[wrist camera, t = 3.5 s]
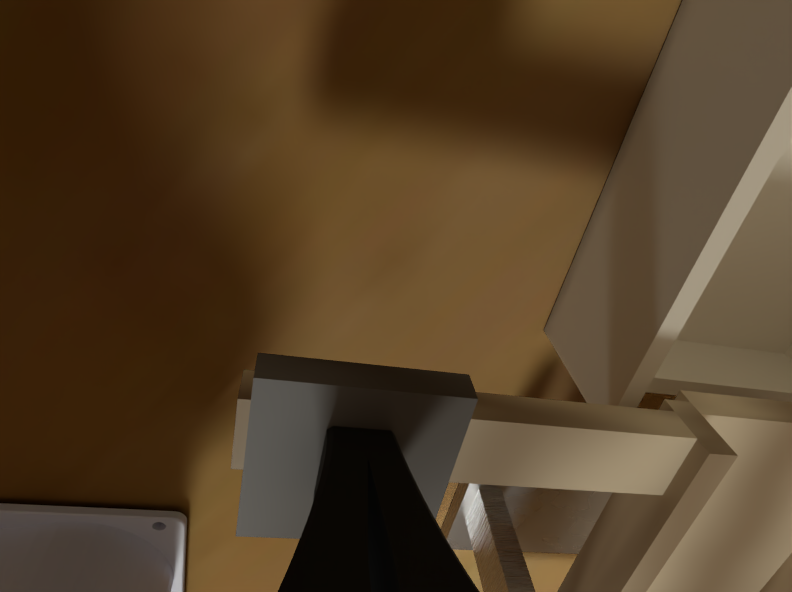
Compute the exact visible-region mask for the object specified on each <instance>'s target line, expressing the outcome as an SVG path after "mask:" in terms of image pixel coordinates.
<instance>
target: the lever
mask: <svg viewBox="0 0 792 592" xmlns="http://www.w3.org/2000/svg"><path fill="white" fill-rule="evenodd" d="M332 426H340V427H352V428H364V429H376V430H389V431H392V432H393V433H394V435H395V436H396V439H397V441H398V444H399V446H400V449H401V451H402V453H403V456H404V458H405V460H406V462H407V465H408V467H409V469H410V471H411V473H412V475H413V477H414V479H415V481H416V484H417V486H418V488H419V490H420V492H421V494H422V496H423V498H424V500H425V501H426V503H427V505H428V507H429V509H430V511H431V513H432V514H433V516H434V518H435V519H436V516H437V513H438V511H439V508H440V505H441V502H442V499H443V497H444V494H445V491H446V488H447V485H448V482H454V483H470V484H486V485H503V486H519V487H535V488H551V489H567V490H584V491H600V492H613V493H612V494H611V496H610V498H609V500H608V502H607V503H606V505H605V507H604V509H603V511H602V512H601V514H600V516H599V518H598V520H597V521H596V523H595V525H594V527H593V529H592V530H591V532H590V534H589V536H588V538H587V539H586V541H585V543H584V545H583V547H582V548H581V550H580V552H579V554H578V556H577V557H576V559H575V561H574V563H573V564H572V566H571V568H570V570H569V572H568V573H567V575H566V577H565V579H564V581H563V582H562V584H561V586H560V588H559V590H558V591H557V592H792V402H786V401H777V400H768V399H758V398H749V397H740V396H730V395H721V394H711V393H702V392H693V391H683V390H680V391H679V392H678V394H677V396H676V398H675V399H674V400H668V399H664V401H663V403H662V405H661V406H660V408H659V410H654V409H644V408H633V407H623V406H613V405H603V404H592V403H582V402H572V401H562V400H551V399H541V398H531V397H521V396H510V395H500V394H490V393H480V392H475V389H474V387H473V384H472V381H471V379H470V376H469V375H467V374H457V373H448V372H438V371H429V370H419V369H409V368H400V367H390V366H381V365H371V364H361V363H352V362H342V361H333V360H323V359H313V358H304V357H294V356H284V355H275V354H265V353H258V355H257V361H256V366H255V371H254V370H243V375H242V380H241V385H240V390H239V395H238V400H237V410H236V420H235V431H234V441H233V451H232V462H231V469H243V476H242V485H241V494H240V503H239V512H238V521H237V530H236V536H244V537H271V538H297V539H300V538H301V535H302V532H303V530H304V527H305V525H306V522H307V519H308V516H309V513H310V510H311V507H312V504H313V498H314V490H315V485H316V480H317V475H318V470H319V465H320V460H321V455H322V450H323V445H324V440H325V435H326V430H327V429H329V428H330V427H332Z"/></svg>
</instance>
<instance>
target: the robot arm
mask: <svg viewBox="0 0 792 592" xmlns="http://www.w3.org/2000/svg"><path fill="white" fill-rule="evenodd" d="M186 535H187V518H186V516H185V515H184V514H183V513H180V512H177V511H161V510H139V509H117V508H95V507H73V506H51V505H29V504H7V503H0V592H184V585H185V560H186ZM278 592H479V590H478V589H477V587H476V586H475V584H474V583H473V581H472V580H471V578H470V577H469V575H468V574H467V572H466V571H465V569H464V568H463V566H462V564H461V563H460V561H459V559H458V558H457V556H456V554H455V553H454V551H453V550H452V548H451V546H450V545H449V543H448V541H447V540H446V538H445V536H444V534H443V533H442V531H441V529H440V527H439V525H438V524H437V522H436V520H435V518H434V516H433V514H432V513H431V511H430V509H429V507H428V505H427V503H426V501H425V500H424V498H423V496H422V494H421V492H420V490H419V488H418V486H417V484H416V481H415V479H414V477H413V475H412V473H411V471H410V469H409V467H408V465H407V462H406V460H405V458H404V456H403V453H402V451H401V449H400V446H399V444H398V441H397V439H396V436H395V435H394V433H393V432H392V431H389V430H376V429H364V428H352V427H340V426H332V427H330V428H329V429H327V430H326V435H325V440H324V445H323V450H322V455H321V460H320V465H319V470H318V475H317V480H316V485H315V490H314V498H313V504H312V507H311V510H310V513H309V516H308V519H307V522H306V525H305V527H304V530H303V532H302V535H301V538H300V540H299V543H298V545H297V548H296V550H295V553H294V556H293V558H292V560H291V563H290V565H289V567H288V570H287V572H286V574H285V577H284V579H283V581H282V583H281V586H280V588H279V590H278Z"/></svg>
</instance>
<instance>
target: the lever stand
mask: <svg viewBox="0 0 792 592" xmlns="http://www.w3.org/2000/svg"><path fill="white" fill-rule="evenodd" d="M612 493H613V492H600V491H584V490H567V489H551V488H535V487H519V486H503V485H486V484H470V483H459V485H458V488H457V490H456V493H455V495H454V498H453V500H452V503H451V505H450V508H449V510H448V513H447V515H446V518H445V521H444V523H443V526H442V528H441V531H442V533H443V534H444V536H445V538H446V540H447V541H448V543H449V545H450V546H451V548H452V549H458V550H473V552H474V556H475V560H476V564H477V568H478V572H479V576H480V580H481V584H482V588H483V592H535V589H534V586H533V583H532V580H531V577H530V574H529V571H528V568H527V565H526V562H525V559H524V556H523V553H522V552H542V553H570V554H579V552H580V550H581V548H582V547H583V545H584V543H585V541H586V539H587V538H588V536H589V534H590V532H591V530H592V529H593V527H594V525H595V523H596V521H597V520H598V518H599V516H600V514H601V512H602V511H603V509H604V507H605V505H606V503H607V502H608V500H609V498H610V496H611V494H612Z"/></svg>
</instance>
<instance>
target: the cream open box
mask: <svg viewBox="0 0 792 592" xmlns="http://www.w3.org/2000/svg"><path fill="white" fill-rule="evenodd" d="M544 332H545V333H546V335H547V337H548V338H549V340H550V342H551V343H552V345H553V347H554V349H555V350H556V352H557V354H558V355H559V357H560V359H561V360H562V362H563V364H564V365H565V367H566V369H567V370H568V372H569V374H570V375H571V377H572V379H573V381H574V382H575V384H576V386H577V387H578V389H579V391H580V392H581V394H582V396H583V397H584V399H585V401H586V402H587V403H592V404H603V405H613V406H623V407H633V408H637V407H638V405H639V403H640V402H641V400H642V398H643V396H644V395H645V393H646V392H649V393H658V394H668V395H677V394H678V392H679V391H680V390H683V391H693V392H702V393H711V394H721V395H730V396H740V397H749V398H758V399H768V400H777V401H786V402H792V0H682V2H681V5H680V7H679V10H678V12H677V14H676V17H675V19H674V21H673V24H672V26H671V29H670V31H669V33H668V36H667V38H666V41H665V43H664V45H663V48H662V50H661V52H660V55H659V57H658V60H657V62H656V64H655V67H654V69H653V71H652V74H651V76H650V79H649V81H648V83H647V86H646V88H645V90H644V93H643V95H642V98H641V100H640V102H639V105H638V107H637V110H636V112H635V114H634V117H633V119H632V121H631V124H630V126H629V129H628V131H627V133H626V136H625V138H624V140H623V143H622V145H621V148H620V150H619V152H618V155H617V157H616V160H615V162H614V164H613V167H612V169H611V171H610V174H609V176H608V179H607V181H606V183H605V186H604V188H603V190H602V193H601V195H600V198H599V200H598V202H597V205H596V207H595V209H594V212H593V214H592V217H591V219H590V221H589V224H588V226H587V229H586V231H585V233H584V236H583V238H582V240H581V243H580V245H579V248H578V250H577V252H576V255H575V257H574V259H573V262H572V264H571V267H570V269H569V271H568V274H567V276H566V278H565V281H564V283H563V286H562V288H561V290H560V293H559V295H558V298H557V300H556V302H555V305H554V307H553V309H552V312H551V314H550V317H549V319H548V321H547V324H546V326H545V328H544Z"/></svg>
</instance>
